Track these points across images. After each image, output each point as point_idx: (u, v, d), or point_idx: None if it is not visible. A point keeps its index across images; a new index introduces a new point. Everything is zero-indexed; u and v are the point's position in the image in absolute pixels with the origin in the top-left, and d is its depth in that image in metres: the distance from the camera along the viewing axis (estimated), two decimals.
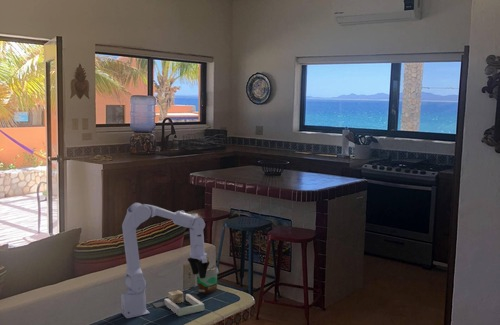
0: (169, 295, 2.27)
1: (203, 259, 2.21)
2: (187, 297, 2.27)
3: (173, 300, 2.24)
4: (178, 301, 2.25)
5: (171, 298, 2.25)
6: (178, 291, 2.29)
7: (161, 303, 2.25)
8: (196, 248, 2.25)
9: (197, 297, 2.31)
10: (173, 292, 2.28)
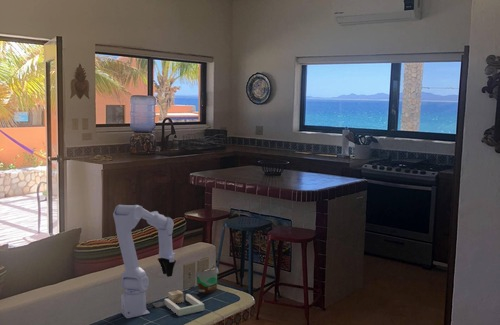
0: (169, 295, 2.27)
1: (170, 258, 2.28)
2: (187, 297, 2.27)
3: (173, 300, 2.24)
4: (178, 301, 2.25)
5: (171, 298, 2.25)
6: (178, 291, 2.29)
7: (161, 303, 2.25)
8: (164, 248, 2.31)
9: (197, 297, 2.31)
10: (173, 292, 2.28)
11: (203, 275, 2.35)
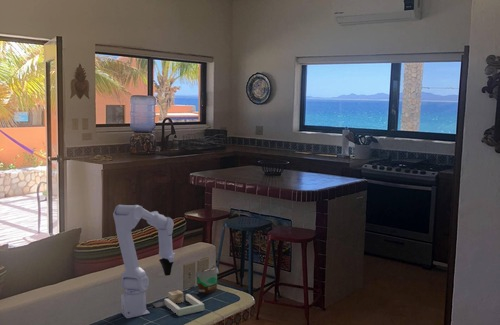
0: (169, 295, 2.27)
1: (170, 258, 2.28)
2: (187, 297, 2.27)
3: (173, 300, 2.24)
4: (178, 301, 2.25)
5: (171, 298, 2.25)
6: (178, 291, 2.29)
7: (161, 303, 2.25)
8: (164, 248, 2.31)
9: (197, 297, 2.31)
10: (173, 292, 2.28)
11: (203, 275, 2.35)
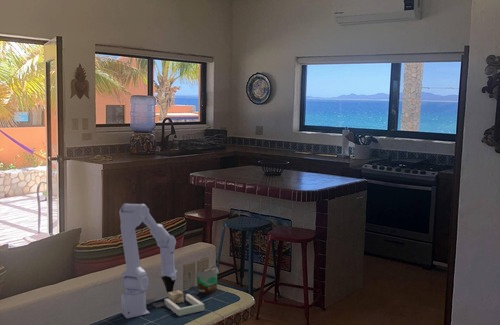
0: (169, 295, 2.27)
1: (173, 277, 2.27)
2: (187, 297, 2.27)
3: (173, 300, 2.24)
4: (178, 301, 2.25)
5: (171, 298, 2.25)
6: (178, 291, 2.29)
7: (161, 303, 2.25)
8: (166, 266, 2.30)
9: (197, 297, 2.31)
10: (173, 292, 2.28)
11: (203, 275, 2.35)
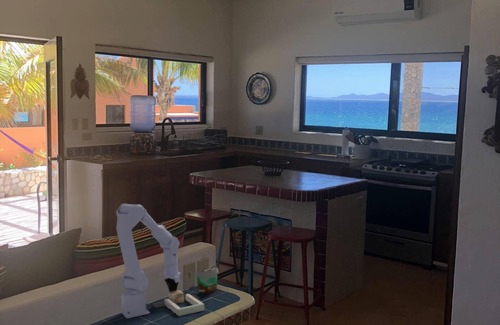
0: (169, 295, 2.27)
1: (176, 279, 2.23)
2: (187, 297, 2.27)
3: (173, 300, 2.24)
4: (178, 301, 2.25)
5: (171, 298, 2.25)
6: (178, 291, 2.29)
7: (161, 303, 2.25)
8: (170, 268, 2.27)
9: (197, 297, 2.31)
10: (173, 292, 2.27)
11: (203, 275, 2.35)
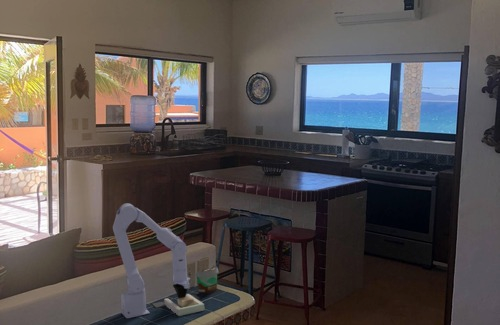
0: (179, 301, 2.18)
1: (185, 285, 2.14)
2: None
3: None
4: None
5: (181, 305, 2.16)
6: (188, 297, 2.19)
7: (161, 303, 2.25)
8: (178, 273, 2.18)
9: (197, 297, 2.31)
10: (183, 298, 2.18)
11: (203, 275, 2.35)
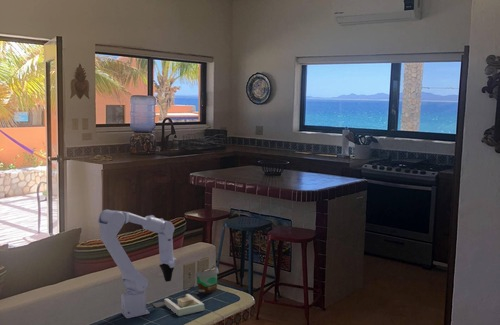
0: (179, 302, 2.18)
1: (171, 264, 2.19)
2: None
3: None
4: None
5: (181, 305, 2.16)
6: (188, 297, 2.19)
7: (161, 303, 2.25)
8: (164, 253, 2.22)
9: (197, 297, 2.31)
10: (183, 299, 2.18)
11: (203, 275, 2.35)
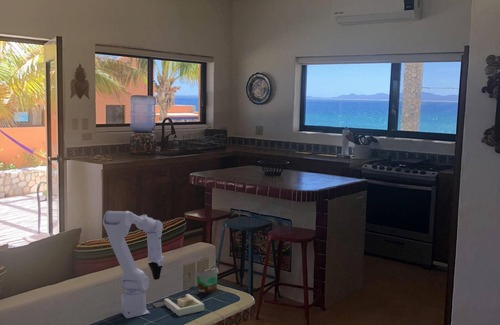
0: (179, 302, 2.18)
1: (159, 262, 2.22)
2: None
3: None
4: None
5: (181, 305, 2.16)
6: (188, 297, 2.19)
7: (161, 303, 2.25)
8: (153, 251, 2.26)
9: (197, 297, 2.31)
10: (183, 299, 2.18)
11: (203, 275, 2.35)
